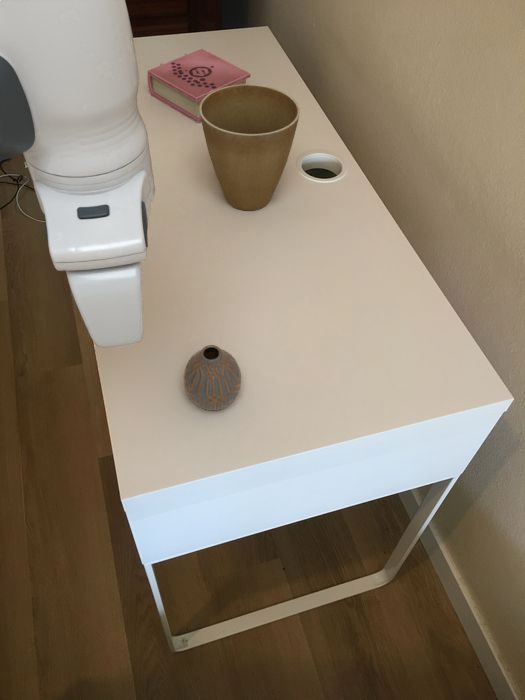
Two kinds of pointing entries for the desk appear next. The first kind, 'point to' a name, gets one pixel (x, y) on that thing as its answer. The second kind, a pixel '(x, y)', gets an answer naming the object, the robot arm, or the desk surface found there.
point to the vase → (212, 378)
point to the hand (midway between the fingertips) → (124, 300)
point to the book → (192, 80)
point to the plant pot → (249, 140)
